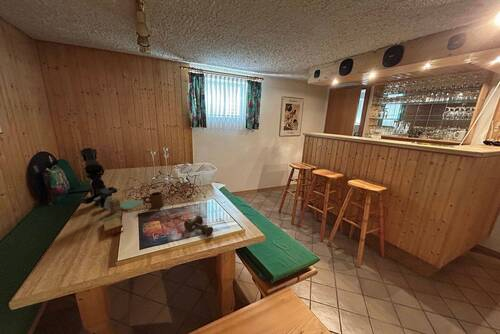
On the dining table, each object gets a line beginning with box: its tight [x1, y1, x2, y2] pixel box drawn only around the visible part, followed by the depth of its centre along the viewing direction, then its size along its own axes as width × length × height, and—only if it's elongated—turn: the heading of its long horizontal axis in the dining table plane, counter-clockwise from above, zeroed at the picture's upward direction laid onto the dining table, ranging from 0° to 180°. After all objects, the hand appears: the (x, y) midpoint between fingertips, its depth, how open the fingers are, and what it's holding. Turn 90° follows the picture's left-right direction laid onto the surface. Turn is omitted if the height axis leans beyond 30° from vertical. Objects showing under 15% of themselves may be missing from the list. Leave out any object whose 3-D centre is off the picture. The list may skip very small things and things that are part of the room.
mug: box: [142, 191, 164, 209], centre depth 132 cm, size 12×8×9 cm, turn 123°
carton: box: [102, 213, 124, 237], centre depth 110 cm, size 8×16×4 cm, turn 40°
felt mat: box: [120, 198, 145, 210], centre depth 138 cm, size 14×12×1 cm
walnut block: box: [109, 198, 122, 214], centre depth 127 cm, size 4×4×8 cm
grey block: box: [103, 195, 113, 210], centre depth 132 cm, size 4×4×8 cm
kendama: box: [183, 214, 214, 237], centre depth 108 cm, size 6×10×20 cm
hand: (102, 207), depth 119 cm, fingers closed
